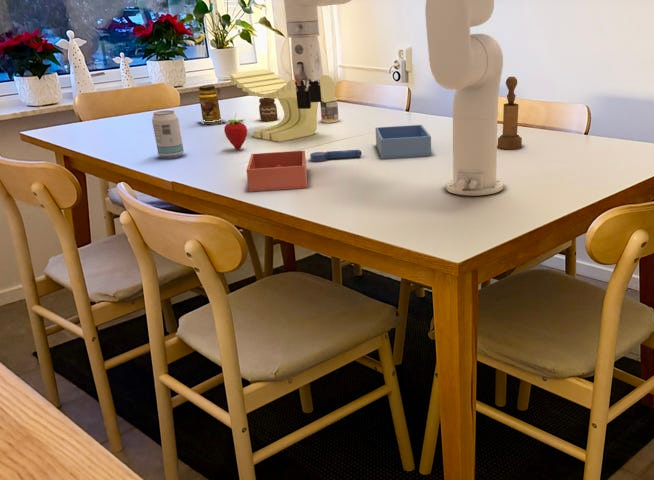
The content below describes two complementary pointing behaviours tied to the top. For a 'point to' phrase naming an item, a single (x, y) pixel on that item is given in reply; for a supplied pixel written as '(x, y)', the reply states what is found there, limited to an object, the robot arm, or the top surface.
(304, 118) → the slatted curved stool
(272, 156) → the bin terracotta
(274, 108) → the dark brown jar
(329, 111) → the pill bottle
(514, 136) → the brown tall knobbed column
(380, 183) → the top surface
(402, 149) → the bin blue
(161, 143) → the beverage can
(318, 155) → the spoon blue
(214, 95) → the condiment
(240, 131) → the strawberry
